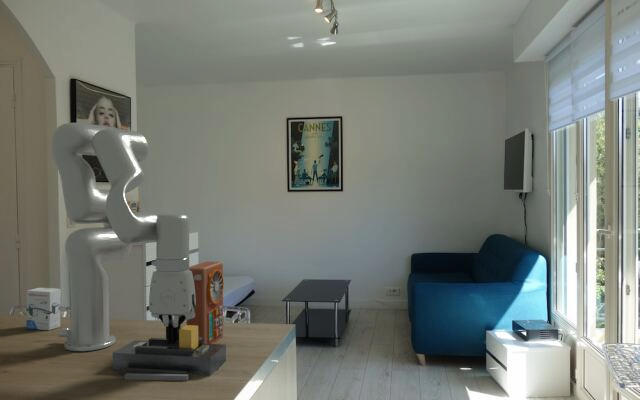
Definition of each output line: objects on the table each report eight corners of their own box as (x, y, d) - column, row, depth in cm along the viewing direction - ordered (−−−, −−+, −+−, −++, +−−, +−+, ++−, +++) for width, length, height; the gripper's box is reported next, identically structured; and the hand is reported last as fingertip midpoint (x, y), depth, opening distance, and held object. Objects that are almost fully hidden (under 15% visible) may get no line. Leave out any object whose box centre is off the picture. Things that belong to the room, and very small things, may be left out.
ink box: (25, 329, 154) (25, 290, 154) (38, 324, 159) (37, 287, 159) (49, 330, 152) (49, 291, 152) (61, 326, 157) (61, 288, 157)
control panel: (227, 335, 146) (205, 351, 132) (205, 333, 148) (180, 349, 133) (227, 261, 146) (205, 268, 131) (204, 260, 147) (180, 268, 133)
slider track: (112, 369, 118) (112, 347, 118) (135, 356, 128) (134, 335, 128) (210, 375, 114) (210, 352, 114) (226, 360, 124) (225, 339, 124)
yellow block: (179, 350, 118) (179, 329, 118) (186, 345, 122) (186, 325, 122) (191, 351, 118) (191, 330, 118) (198, 346, 122) (198, 325, 122)
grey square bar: (124, 379, 112) (124, 375, 112) (126, 377, 113) (126, 373, 113) (187, 380, 111) (186, 376, 111) (188, 378, 112) (188, 374, 112)
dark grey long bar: (118, 374, 115) (118, 369, 115) (121, 372, 116) (121, 367, 116) (184, 378, 112) (184, 373, 112) (187, 376, 114) (187, 371, 114)
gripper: (135, 267, 118) (136, 345, 118) (196, 268, 115) (196, 349, 116) (151, 262, 125) (151, 336, 126) (208, 264, 123) (209, 339, 123)
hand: (173, 342), depth 121 cm, fingers closed
